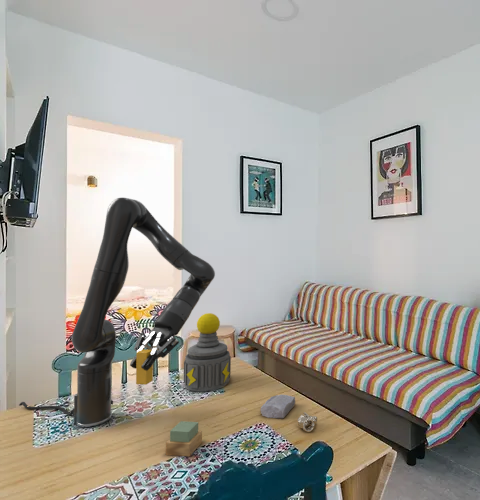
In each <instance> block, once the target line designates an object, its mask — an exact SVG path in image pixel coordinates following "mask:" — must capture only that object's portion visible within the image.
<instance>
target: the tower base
mask: <svg viewBox="0 0 480 500" xmlns="http://www.w3.org/2000/svg"><path fill="white" fill-rule="evenodd" d="M202 443H203V431H202V430H198V433H197V434H196V435H195V436H194V437H193V438H192V439H191V440H190V441H189V442H174V441H170V438H169V439H168V440H167V441H166V442H165V455H166V456H175V457H176V456H177V457H191V455H192V454H193V453H194V452H195V451H196V450H197V449H198V448H199V447H200V445H202Z"/></svg>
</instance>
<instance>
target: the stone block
mask: <svg viewBox="0 0 480 500" xmlns="http://www.w3.org/2000/svg"><path fill="white" fill-rule="evenodd" d="M295 405H296V397H295V396H292V395H288V394H277V395H273V396H270V398H268V399H267V400H266V401H265V403H263V404H262V406H261V407H260V414H261V416H263V417H265V418H268V419H284V418H285V417H286V416H287V415H288V414H289V413H290V411H291V410H292V409H293V408H294V407H295Z"/></svg>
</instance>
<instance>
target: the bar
mask: <svg viewBox="0 0 480 500" xmlns="http://www.w3.org/2000/svg"><path fill="white" fill-rule="evenodd" d="M151 352H152V350H146V348H145V349H143V350H141V351H139V352H136V354H137V357H136V369H135V384H136V385H144V386H146V385H149V384H150V383H152V382H153V381H154V364H153V365H152V366H151V368H150V369H149V370H148V371H146V370H144V369H142V368H141V366H142V365H143V363H144V362H145V360H146V359H147V357H148V356H149V355H151Z"/></svg>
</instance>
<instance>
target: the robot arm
mask: <svg viewBox="0 0 480 500" xmlns="http://www.w3.org/2000/svg"><path fill="white" fill-rule="evenodd" d="M132 229H135V230H136V231H138V232H139V233H141V234H142V235H143V236H145V238H146V239H147V240H148V241H149V242H150V243H151V244H152V245H153V247H154V249H156V251H157V252H158V253H159V255H161V257H162V258H163V259H165V260H166V262H167V263H169V264H170V265H171V266H173V267H174V268H175V269H176V270H178V271H183V270H184V271H186V272H187V273H189V276H188V278H187V279H186V281H185V282H184V284H183V286H182V287H181V288H179V290H178V291H177V292H176V293H175V295H174V296H173V298H172V299H171V300H170V301H169V302H168V304H166V306H165V307H164V309H163V310H162V311H161V313H160V314H159V315H158V317H157V318H156V320H155V321H154V322H153V328H152V329H151V330H149V332H147V333H144V332H143V331H142V332H140V333H139V334H138V338H137V340H136V341H135V344H134V347H133V351H135V352H136V354H135V356H133V358H132V360H131V361H130V364H129V366H130V367H131V368H133V369H135V370H136V357H137V352H139V351H141V350H143V349H146V350H152V352H151V355H149V356H148V357H147V359H146V360H145V362H144V363H143V365H142V366H141V368H142V369H144V370H146V371H148V370H149V369H150V368H151V366H152V365H153V366H154V364H155V362H156V360H158V359H159V358H161V359H164V358H165V357H166V356H167V355H168V354H169V353H170V352H172V351H173V349H175V348H176V347H177V346H178V345H179V343H180V341H179V340H178V339H177V338H176V336H177V335H178V334H179V333H180V331H181V330H182V328H183V327H184V325H185V324H186V322H187V321H188V319H189V318H190V316H191V314H192V312H193V310H194V309H195V307H196V306H197V305H198V302H199V301H200V299H201V297H202V296H203V294H204V293H205V291H206V290H207V288H208V287H209V286H210V284H211V283H212V282H213V281H214V279H215V276H216V271H215V269H214V268H213V266H212V265H211V264H210V263H209V262H207V261H206V260H204V259H203V258H201V257H199V256H197V255H195V254H194V253H192V252H191V251H190V250H189V249H187V248H186V247H185V246H184V245H183V244H182V243H181V242H179V241H178V240H177V239H176V238H175V237H174V236H173V235H172V234H170V233H169V231H167V230H166V229H165V228H164V227H163V226H162V225H161V224H160V222H159V221H158V220H157V219H156V218H155V217H154V215H153V214H152V213H151V212H150V211H149V210H148V208H147V207H146V205H144V204H143V203H142V202H141V201H139V200H137V199H134V198H133V199H132V198H128V197H117V198H114V199H113V200H112V201H111V203H109V205H108V206H107V211H106V216H105V222H104V230H103V235H102V239H101V244H100V247H99V249H98V253H97V258H96V260H95V264H94V267H93V271H92V274H91V277H90V283H89V286H88V289H87V293H86V295H85V299H84V303H83V306H82V309H81V311H80V313H79V317H78V319H77V321H76V323H75V326H74V329H73V331H72V335H71V343H72V346H73V349H75V350H76V351H77V352H79V353H83V354H84V355H83V357H82V358H81V359H80V360H79V362H78V363H77V369H76V370H77V371H76V373H77V374H76V375H77V379H76V383H77V385H76V387H77V388H76V393H75V394H74V396H73V408H72V409H71V410H70V412H69V410H67V409H65V408H64V407H62V406H58V405H42V406H32V405H31V406H30V405H28V404H27V403H26V401H21V402H20V403H19V404H18V406H23V407H24V408H25V409H27V410H46V409H47V410H48V409H56V410H60V411H62V412H63V413H64V414H65V415H67V416H68V417H69V416H72V417H73V424H74V425H76V426H77V427H79V428H93V427H96V426H99V425H102V424H104V423H107V422H108V421H110V420H111V419H112V417H113V415H112V406H114V400H113V399H112V392H113V391H112V389H113V388H112V387H113V386H112V384H113V383H112V382H113V380H112V379H113V377H112V375H113V373H112V372H113V371H112V369H113V360H114V358H115V354H116V342H117V341H116V340H117V336H116V335H117V334H116V332H117V331H116V328H115V326H114V324H113V323H112V322H111V321H110V320H109V319H106V317H107V314H108V311H109V309H110V308H111V306H112V305H113V303H114V302H115V300H116V299H117V297H118V296H119V294H120V293H121V292H122V289H123V287H124V286H125V282H126V279H127V275H128V271H129V266H130V262H129V252H128V245H129V244H128V243H129V238H130V235H131V232H132ZM27 406H29V407H27Z"/></svg>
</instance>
